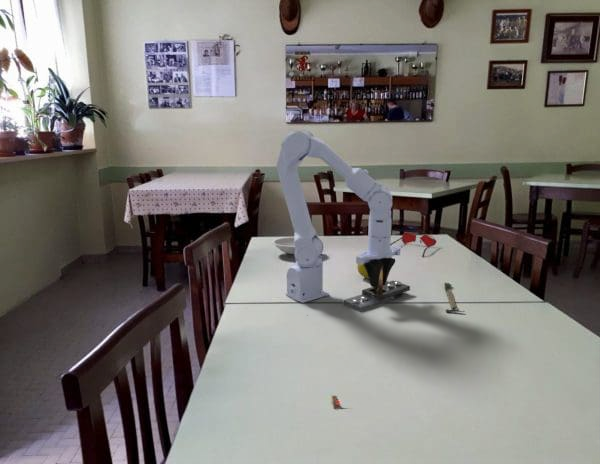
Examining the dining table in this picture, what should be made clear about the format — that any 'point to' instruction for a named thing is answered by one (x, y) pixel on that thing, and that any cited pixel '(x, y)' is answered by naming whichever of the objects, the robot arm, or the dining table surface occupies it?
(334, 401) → the matchbox
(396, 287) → the chain joint
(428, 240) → the glasses
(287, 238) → the dish
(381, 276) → the copper pin
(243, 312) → the dining table surface
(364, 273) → the lemon
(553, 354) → the dining table surface
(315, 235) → the robot arm
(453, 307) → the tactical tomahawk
